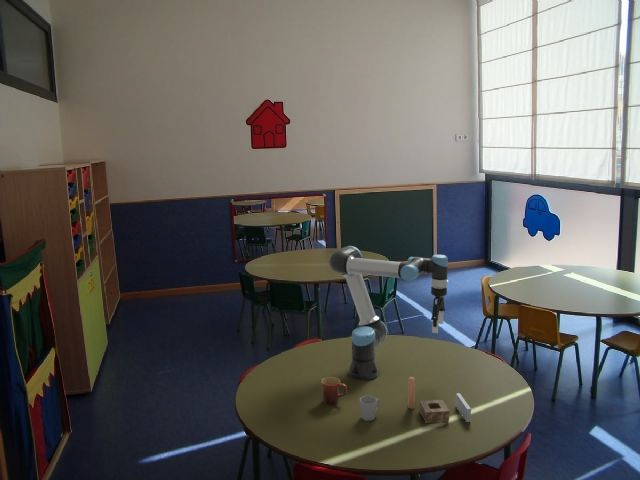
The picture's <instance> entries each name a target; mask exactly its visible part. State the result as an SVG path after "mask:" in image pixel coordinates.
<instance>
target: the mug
mask: <svg viewBox="0 0 640 480" xmlns="http://www.w3.org/2000/svg"><path fill="white" fill-rule="evenodd" d="M320 383H321V385H322V400H323V403H325V404H326V405H328V406H331V405H332V406H334V405H336V404H338V403H339V402H340V398H342V397H344V396H345V395H346V394H347V392H348V386H347V384H345V383H341V380H340V378H338V377H334V376H328V377H324V378H322V379H321V382H320ZM340 387H344V392H343V393H340Z"/></svg>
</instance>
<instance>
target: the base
mask: <svg viewBox="0 0 640 480" xmlns="http://www.w3.org/2000/svg"><path fill="white" fill-rule="evenodd" d="M456 406H457V408H458V409H459V411H460V412H459V411H458V412H459V414H460V413H461V414H462V415H463V417H464V418H463V417H462V418H463V419H465V420H466V421H465V420H464V421H465V423H466V422H470V421H471V416H472V408H471V407H470V405H469V404H468V402H467V401H466V399H465V398H464V397H463V396H462V394H461V393H459V392H458V393H456V394H455V407H456ZM457 408H456V409H457ZM458 409H457V410H458ZM461 414H460V415H461ZM462 415H461V416H462ZM470 423H471V422H470Z"/></svg>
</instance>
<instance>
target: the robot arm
mask: <svg viewBox="0 0 640 480" xmlns="http://www.w3.org/2000/svg"><path fill="white" fill-rule="evenodd" d="M328 263H329V264H328V265H329V268H330V269H331V270H332V271H333V272H334V273H336V274H341V276H342V277H344V278H345V280H346V284H347V286H348V289H349V292H350V294H351V297H352V300H353V303H354V306H355V308H356V313H357V315H358V318H359V323H358V326H357V327H356V328H355V329H353V330H352V333H351V338H350V340H351V361H350V365H349V366H348V367H349V368H348V376H349V377H351V378H352V379H355V380H359V381H368V380H373V379H376V378H377V377H379V368H378V365H377V363H376V348H377V347H378V346H380V345H381V344H382V343H383V342H385V340H386V338H387V336H388V327H387V325H386V324H385V322H383V321H382V320H381V317H380V316H378V315H377V314H376V312H375V309H374V305H373V303H372V300H371V298H370V295H369V291H368V288H367V285H366V283H365V280H364V278H363V277H364V276H363V275H368V276H369V275H370V276H379V277H387V278H388V277H389V278H397V279H398V278H400V279H403V280H404V281H407V282H412V281H414V280H416V279H417V278H418V277H419V276H420V275H422V274H427V275H431V279H430V280H431V283H430V286H431V287H430V294H431V295H432V296H434V298H433V303H432V313H431V318H430V320H431V323H432V325H431V332H432V333H433V334H438V333H439V324H440V325H443V324H444V315H445V313H444V312H445V311H446V308H445V296H446V295H447V293H448V283H449V280H448V268H449V259H448V256H446V255H444V254H434V255H432V257H431V258H427V257H418V256H410V257H408V259H407V261H406V262H405V261H393V260H382V259H373V258H372V259H371V258H363V254H362V252H361V251H360V250H359V248H357V247H356V246H352V245H348V246H347V245H346V246H344V247H342V248H340V249H338V250H336V251H334V252H333V253H332V254H331V255H330V257H329V259H328Z"/></svg>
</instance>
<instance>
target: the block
mask: <svg viewBox="0 0 640 480" xmlns="http://www.w3.org/2000/svg"><path fill="white" fill-rule="evenodd" d="M419 413H420V415H421V416H423V417H422V419H423V418H424V419H423V420H425V421H424V422H425V424H433V423H447V422H446V421H449V422H450V410H449V408H448V406H447V405H446V404H445V402H444V401H443V399H430V400H419ZM443 421H445V422H443Z"/></svg>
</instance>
